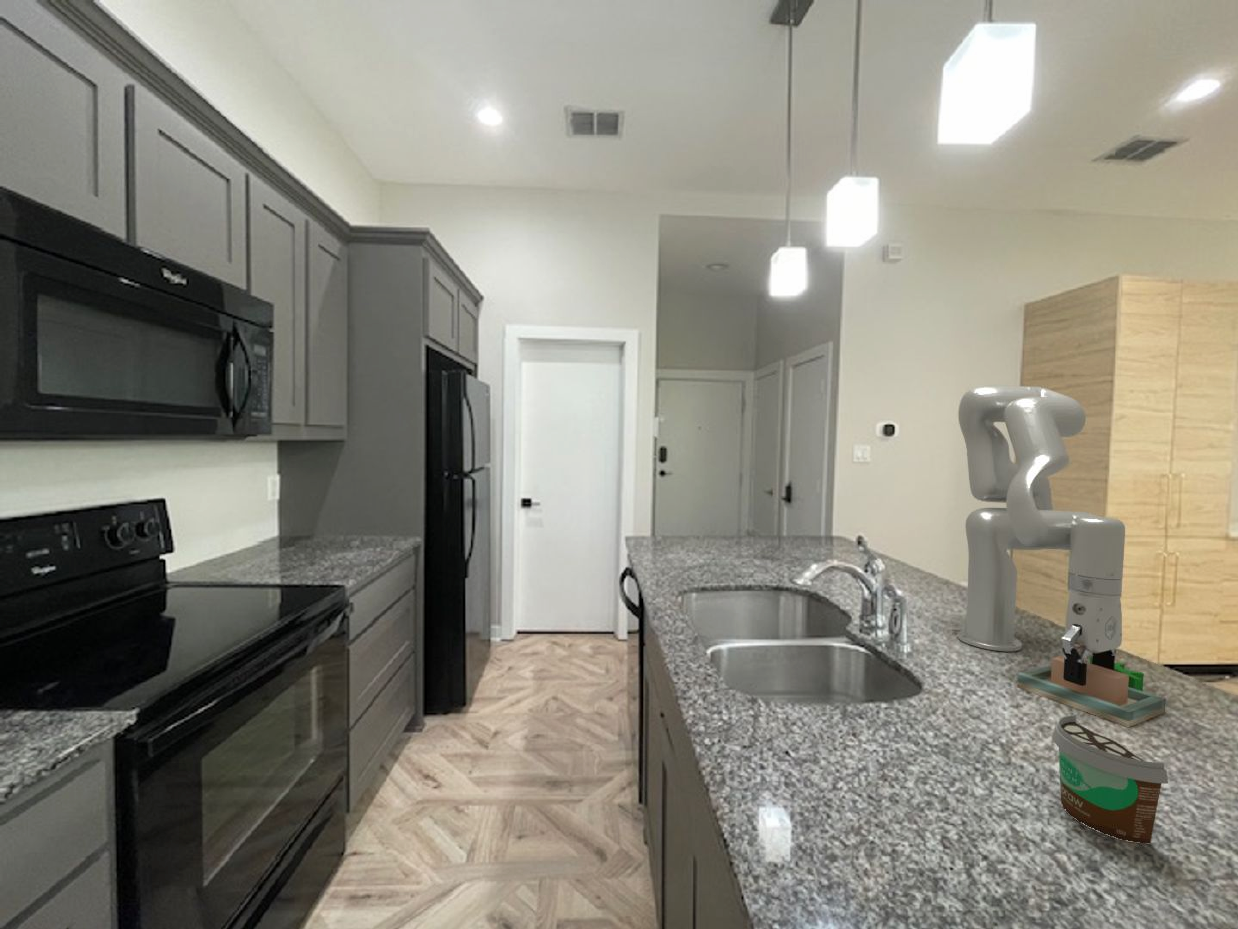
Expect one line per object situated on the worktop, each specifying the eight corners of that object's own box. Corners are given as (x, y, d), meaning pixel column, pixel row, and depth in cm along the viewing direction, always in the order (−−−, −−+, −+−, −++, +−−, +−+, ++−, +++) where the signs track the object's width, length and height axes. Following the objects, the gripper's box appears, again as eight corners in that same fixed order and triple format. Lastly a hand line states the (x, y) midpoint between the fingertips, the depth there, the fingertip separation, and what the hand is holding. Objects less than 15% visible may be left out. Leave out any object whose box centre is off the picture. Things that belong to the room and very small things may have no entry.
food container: (1024, 788, 75) (1028, 713, 75) (1067, 787, 76) (1071, 713, 75) (1112, 855, 63) (1118, 766, 63) (1163, 853, 63) (1169, 765, 63)
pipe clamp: (1155, 705, 102) (1157, 680, 102) (1133, 704, 103) (1135, 679, 103) (1108, 679, 114) (1110, 656, 113) (1088, 678, 114) (1089, 655, 114)
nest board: (1016, 686, 108) (1017, 673, 108) (1054, 676, 114) (1055, 663, 114) (1128, 727, 93) (1129, 712, 93) (1165, 712, 99) (1165, 698, 99)
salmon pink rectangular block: (1115, 707, 98) (1117, 678, 98) (1050, 684, 107) (1052, 658, 107) (1127, 703, 100) (1128, 675, 100) (1062, 681, 109) (1063, 655, 109)
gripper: (1094, 594, 96) (1088, 695, 96) (1143, 586, 103) (1137, 679, 104) (1044, 584, 102) (1039, 678, 103) (1094, 576, 110) (1089, 664, 111)
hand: (1088, 678), depth 103 cm, fingers open, 9 cm apart
